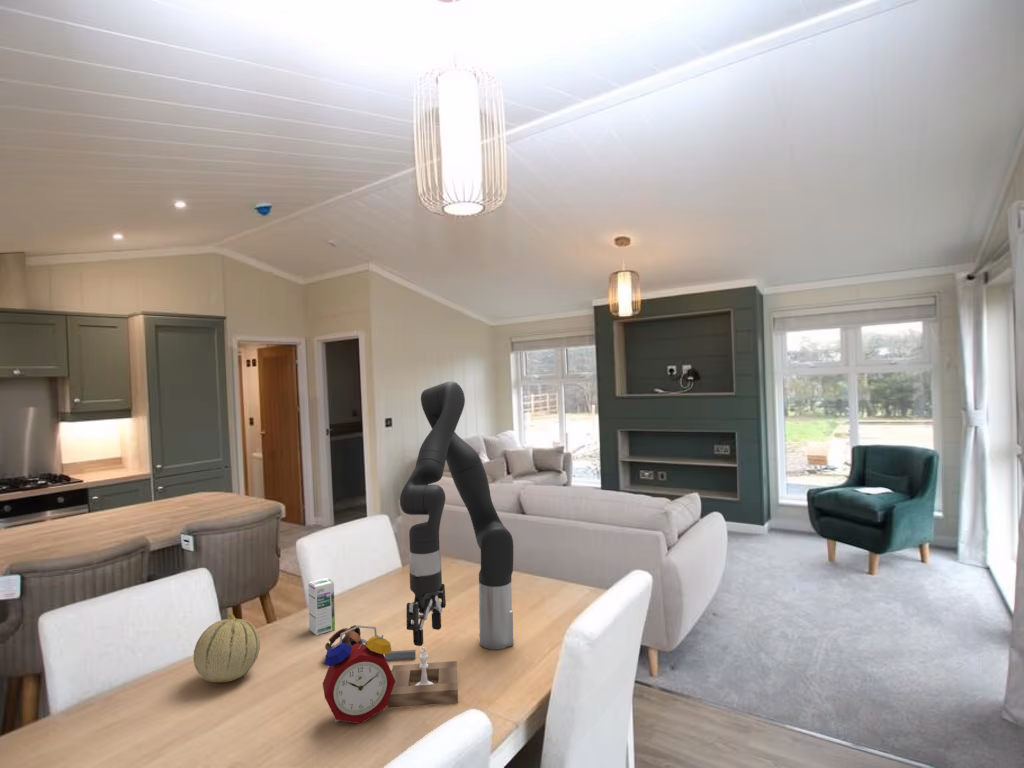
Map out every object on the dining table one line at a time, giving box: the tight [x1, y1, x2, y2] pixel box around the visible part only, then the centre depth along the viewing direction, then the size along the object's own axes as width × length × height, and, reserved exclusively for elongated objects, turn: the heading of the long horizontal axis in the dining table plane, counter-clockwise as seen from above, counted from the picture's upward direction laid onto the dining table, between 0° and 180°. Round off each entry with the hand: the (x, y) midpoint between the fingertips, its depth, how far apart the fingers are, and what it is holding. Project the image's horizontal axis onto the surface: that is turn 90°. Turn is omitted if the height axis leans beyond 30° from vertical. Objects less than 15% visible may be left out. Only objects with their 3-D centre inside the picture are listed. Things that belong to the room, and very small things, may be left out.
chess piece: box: [414, 646, 434, 686], centre depth 130 cm, size 5×5×10 cm
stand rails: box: [384, 649, 417, 672], centre depth 140 cm, size 8×11×2 cm
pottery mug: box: [324, 624, 364, 653], centre depth 148 cm, size 12×10×8 cm
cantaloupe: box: [193, 613, 261, 684], centre depth 136 cm, size 15×15×15 cm
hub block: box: [386, 660, 459, 709], centre depth 130 cm, size 16×13×3 cm
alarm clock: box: [322, 624, 395, 724], centre depth 121 cm, size 15×9×20 cm, turn 114°
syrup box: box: [307, 577, 336, 636], centre depth 163 cm, size 6×6×14 cm
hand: (427, 636), depth 130 cm, fingers open, 8 cm apart
